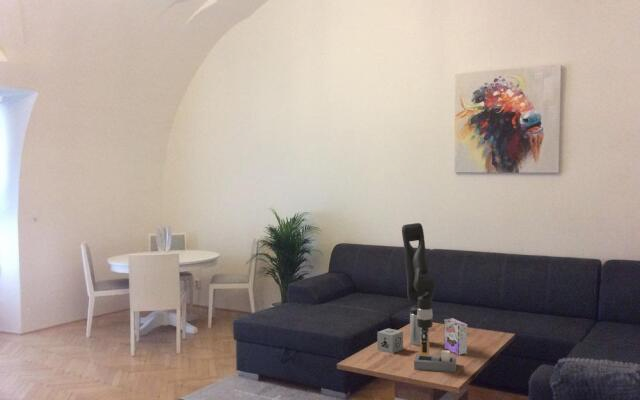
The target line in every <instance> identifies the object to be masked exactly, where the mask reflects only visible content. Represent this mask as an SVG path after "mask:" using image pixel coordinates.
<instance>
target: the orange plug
mask: <svg viewBox="0 0 640 400" xmlns="http://www.w3.org/2000/svg"><path fill="white" fill-rule="evenodd" d="M423 342H425V341H423ZM421 343H422V340H421ZM420 354H421V355H424V356H429V355H430V339H428V340H427V353H423V352H422V344H421V345H420Z"/></svg>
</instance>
